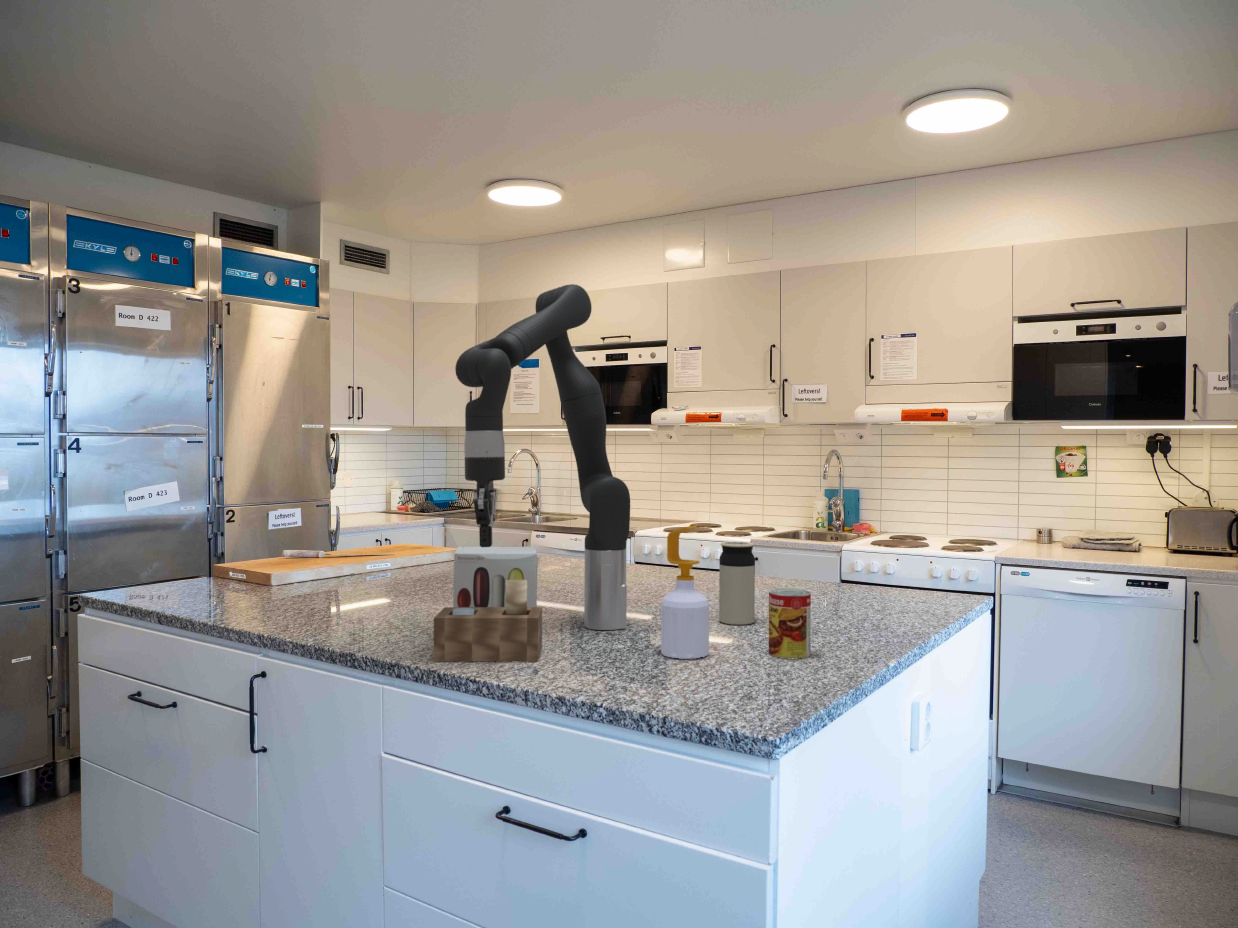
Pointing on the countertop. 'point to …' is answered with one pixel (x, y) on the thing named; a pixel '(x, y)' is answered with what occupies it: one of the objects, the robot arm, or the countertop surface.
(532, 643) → the walnut block
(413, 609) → the countertop surface
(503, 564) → the supplement box
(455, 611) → the blue-grey peg
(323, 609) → the countertop surface
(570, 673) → the countertop surface
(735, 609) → the travel mug
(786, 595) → the canned food
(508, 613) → the birch peg
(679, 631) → the soap bottle
